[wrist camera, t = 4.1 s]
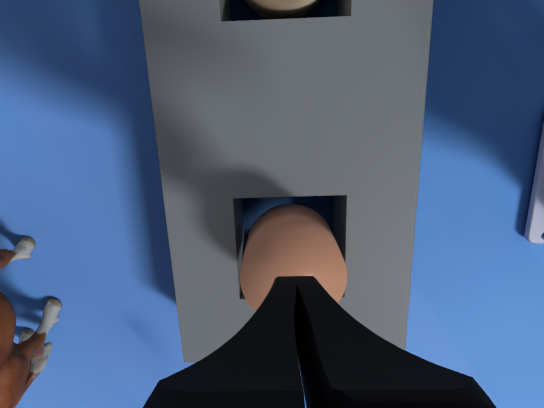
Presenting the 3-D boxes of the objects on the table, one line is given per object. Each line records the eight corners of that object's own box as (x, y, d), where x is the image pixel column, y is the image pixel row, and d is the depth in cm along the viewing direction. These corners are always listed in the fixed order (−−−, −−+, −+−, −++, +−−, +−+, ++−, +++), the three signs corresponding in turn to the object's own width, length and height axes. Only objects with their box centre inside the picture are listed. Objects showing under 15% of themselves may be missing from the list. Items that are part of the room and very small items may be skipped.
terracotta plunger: (334, 202, 17) (348, 226, 14) (333, 283, 18) (345, 324, 15) (244, 205, 17) (236, 229, 14) (249, 285, 18) (242, 326, 15)
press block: (412, -193, 16) (456, -291, 12) (382, 315, 23) (404, 358, 19) (147, -178, 16) (105, -268, 12) (199, 319, 23) (183, 362, 19)
